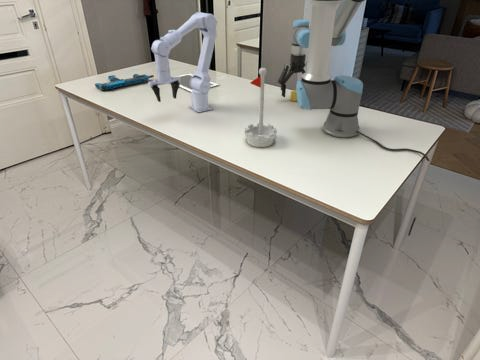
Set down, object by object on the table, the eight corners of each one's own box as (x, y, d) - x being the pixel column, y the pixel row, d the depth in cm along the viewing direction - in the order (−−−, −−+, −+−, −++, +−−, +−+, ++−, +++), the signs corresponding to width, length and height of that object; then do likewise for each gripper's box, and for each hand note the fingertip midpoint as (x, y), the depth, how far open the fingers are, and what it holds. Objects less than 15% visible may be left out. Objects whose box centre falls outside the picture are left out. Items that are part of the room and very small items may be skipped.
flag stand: (267, 132, 148) (271, 61, 132) (281, 144, 138) (286, 70, 122) (240, 137, 144) (240, 65, 128) (252, 150, 134) (253, 74, 118)
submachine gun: (139, 68, 225) (158, 74, 208) (140, 74, 226) (158, 80, 210) (87, 78, 206) (103, 86, 189) (89, 84, 208) (104, 92, 191)
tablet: (162, 79, 213) (162, 79, 213) (189, 73, 224) (189, 73, 224) (191, 92, 193) (191, 91, 192) (219, 85, 204) (219, 84, 203)
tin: (289, 98, 184) (289, 90, 182) (296, 98, 185) (297, 89, 183) (292, 101, 181) (292, 93, 178) (299, 100, 182) (300, 92, 179)
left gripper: (150, 74, 143) (155, 105, 150) (182, 69, 150) (185, 99, 157) (144, 70, 148) (149, 100, 155) (175, 65, 155) (178, 94, 162)
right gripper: (316, 49, 177) (311, 89, 188) (272, 54, 169) (270, 95, 181) (323, 53, 171) (318, 94, 183) (279, 57, 163) (276, 100, 175)
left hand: (167, 99), depth 156 cm, fingers open, 7 cm apart
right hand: (294, 94), depth 182 cm, fingers open, 13 cm apart
